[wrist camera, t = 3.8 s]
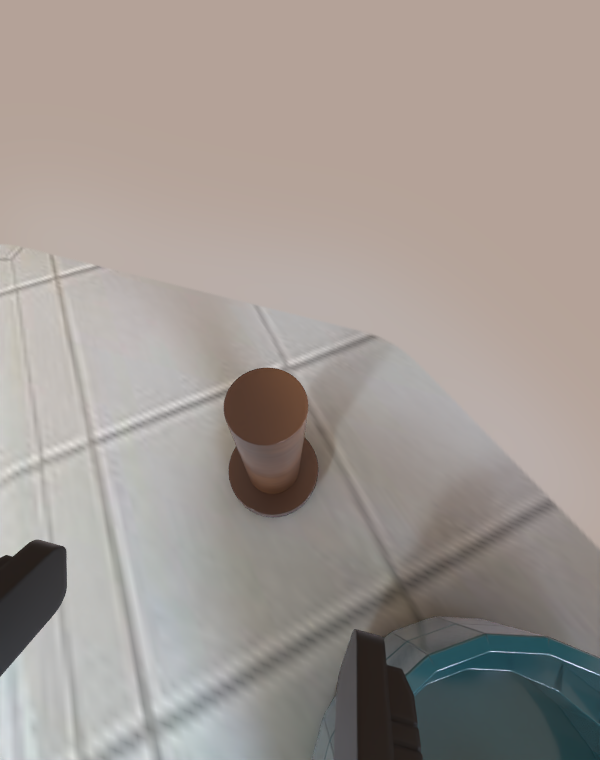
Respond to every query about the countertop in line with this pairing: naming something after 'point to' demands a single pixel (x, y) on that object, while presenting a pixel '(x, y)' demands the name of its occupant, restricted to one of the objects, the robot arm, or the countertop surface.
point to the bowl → (492, 693)
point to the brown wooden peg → (270, 442)
